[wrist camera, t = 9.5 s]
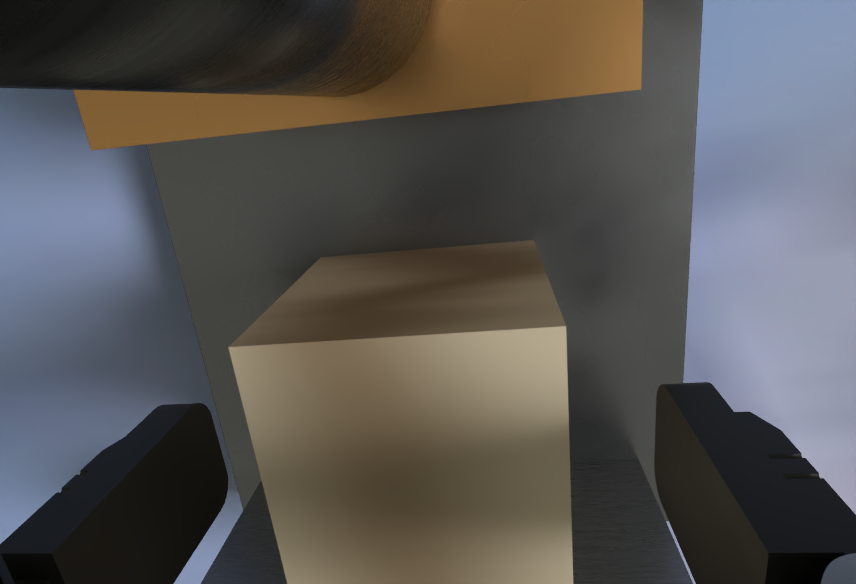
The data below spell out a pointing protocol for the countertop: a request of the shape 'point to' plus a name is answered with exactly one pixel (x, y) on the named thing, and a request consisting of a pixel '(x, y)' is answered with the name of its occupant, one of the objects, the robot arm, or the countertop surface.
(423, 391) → the block
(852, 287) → the countertop surface
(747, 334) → the countertop surface
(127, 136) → the press ram
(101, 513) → the robot arm
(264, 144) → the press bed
